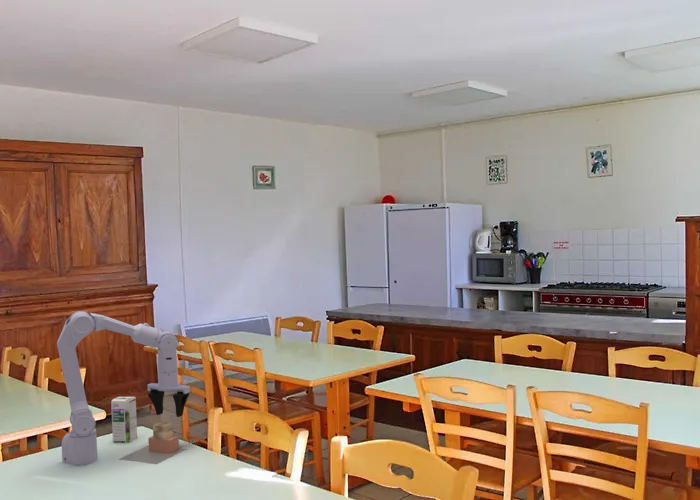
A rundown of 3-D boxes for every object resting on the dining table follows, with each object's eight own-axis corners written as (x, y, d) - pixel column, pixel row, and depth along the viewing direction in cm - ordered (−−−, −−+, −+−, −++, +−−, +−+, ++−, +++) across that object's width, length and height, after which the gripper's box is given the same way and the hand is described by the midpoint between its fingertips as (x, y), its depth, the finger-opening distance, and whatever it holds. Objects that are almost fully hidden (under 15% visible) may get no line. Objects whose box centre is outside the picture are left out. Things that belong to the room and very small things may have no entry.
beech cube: (153, 438, 197) (152, 425, 197) (162, 434, 201) (161, 421, 201) (164, 439, 196) (163, 426, 196) (172, 435, 199) (172, 422, 199)
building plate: (118, 462, 192) (118, 459, 192) (150, 447, 205) (150, 444, 205) (156, 467, 186) (156, 464, 186) (187, 451, 199) (187, 448, 199)
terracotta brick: (148, 451, 198) (148, 437, 198) (157, 447, 202) (157, 434, 202) (170, 453, 195) (169, 440, 195) (179, 449, 199) (178, 436, 199)
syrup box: (112, 446, 208) (110, 400, 207) (121, 440, 214) (119, 395, 213) (129, 446, 207) (127, 400, 206) (138, 440, 213) (136, 395, 212)
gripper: (195, 369, 203) (197, 413, 204) (157, 367, 209) (159, 409, 209) (180, 374, 197) (182, 419, 197) (142, 371, 202) (144, 415, 203)
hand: (169, 415), depth 203 cm, fingers open, 7 cm apart
